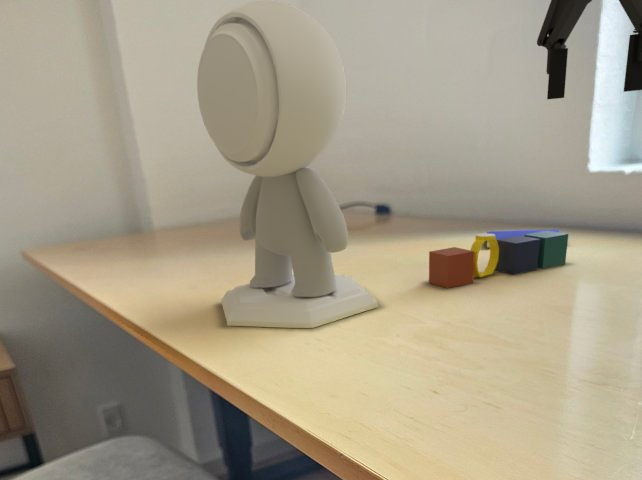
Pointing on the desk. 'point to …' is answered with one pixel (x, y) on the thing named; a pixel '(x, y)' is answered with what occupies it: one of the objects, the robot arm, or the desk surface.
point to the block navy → (518, 254)
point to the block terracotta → (451, 267)
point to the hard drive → (514, 233)
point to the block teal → (551, 248)
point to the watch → (493, 254)
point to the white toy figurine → (280, 160)
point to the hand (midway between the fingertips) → (591, 95)
